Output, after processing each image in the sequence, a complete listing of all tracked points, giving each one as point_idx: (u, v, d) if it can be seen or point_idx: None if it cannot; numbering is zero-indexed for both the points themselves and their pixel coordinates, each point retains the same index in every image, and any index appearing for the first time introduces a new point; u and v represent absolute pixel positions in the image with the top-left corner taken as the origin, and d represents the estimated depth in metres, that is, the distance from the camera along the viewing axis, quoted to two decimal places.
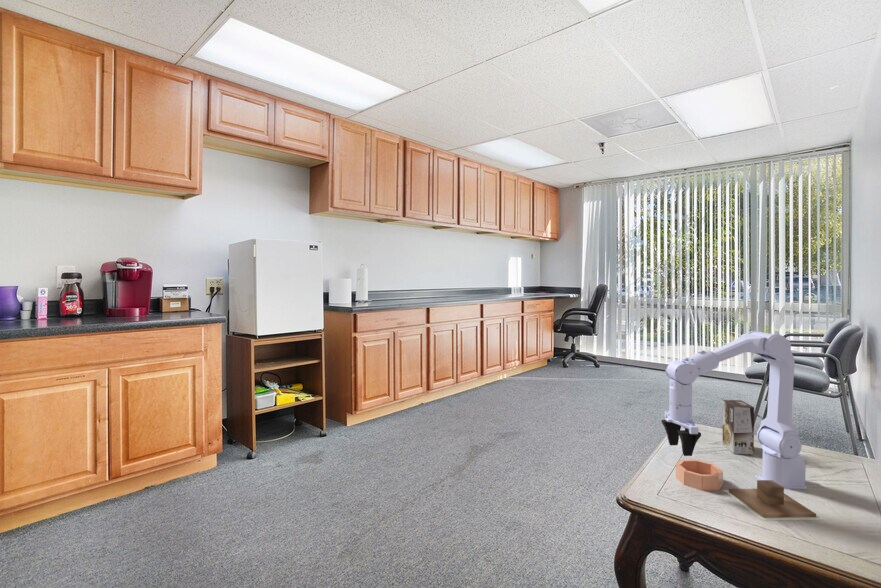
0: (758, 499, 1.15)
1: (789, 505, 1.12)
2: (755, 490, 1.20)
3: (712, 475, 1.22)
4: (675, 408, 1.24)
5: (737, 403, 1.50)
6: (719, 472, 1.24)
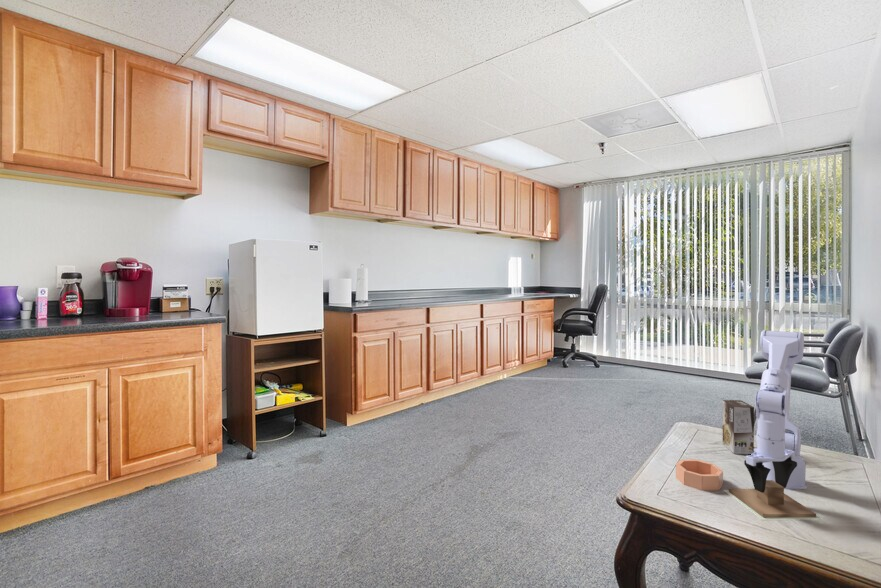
0: (758, 499, 1.15)
1: (789, 505, 1.12)
2: (755, 490, 1.20)
3: (712, 475, 1.22)
4: (757, 438, 1.16)
5: (737, 403, 1.50)
6: (719, 472, 1.24)
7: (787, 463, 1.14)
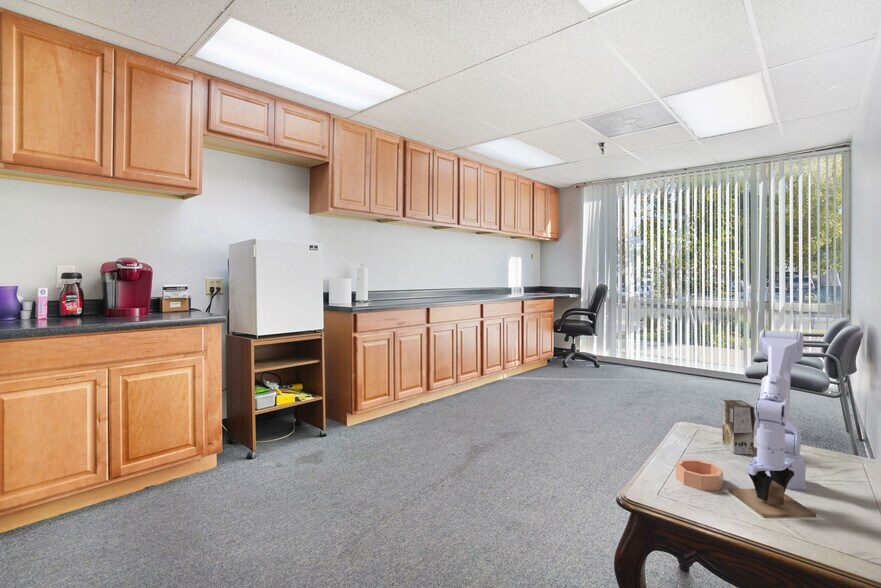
0: (758, 499, 1.15)
1: (789, 505, 1.12)
2: (755, 490, 1.20)
3: (712, 475, 1.22)
4: (757, 447, 1.16)
5: (737, 403, 1.50)
6: (719, 472, 1.24)
7: (784, 472, 1.13)
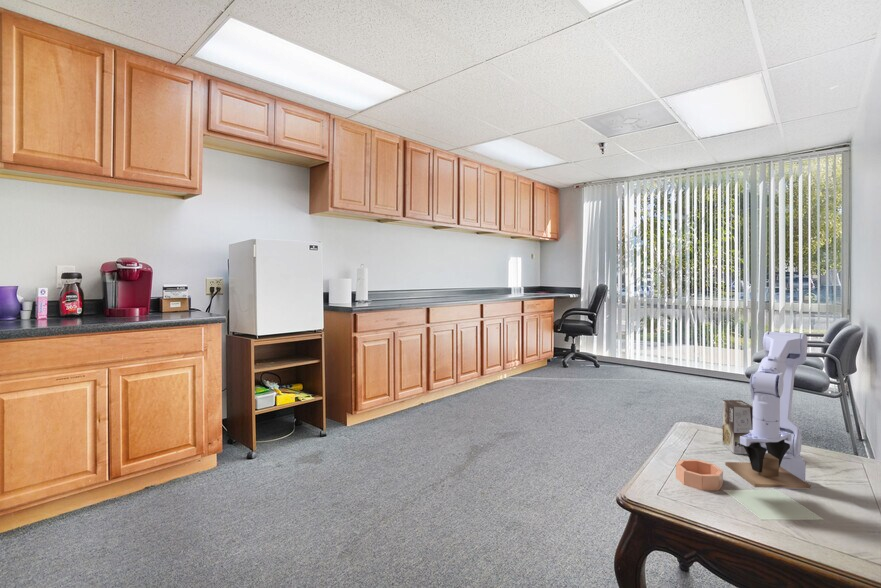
0: (753, 471, 1.16)
1: (784, 477, 1.12)
2: None
3: (712, 475, 1.22)
4: None
5: (737, 403, 1.50)
6: (719, 472, 1.24)
7: (779, 445, 1.14)
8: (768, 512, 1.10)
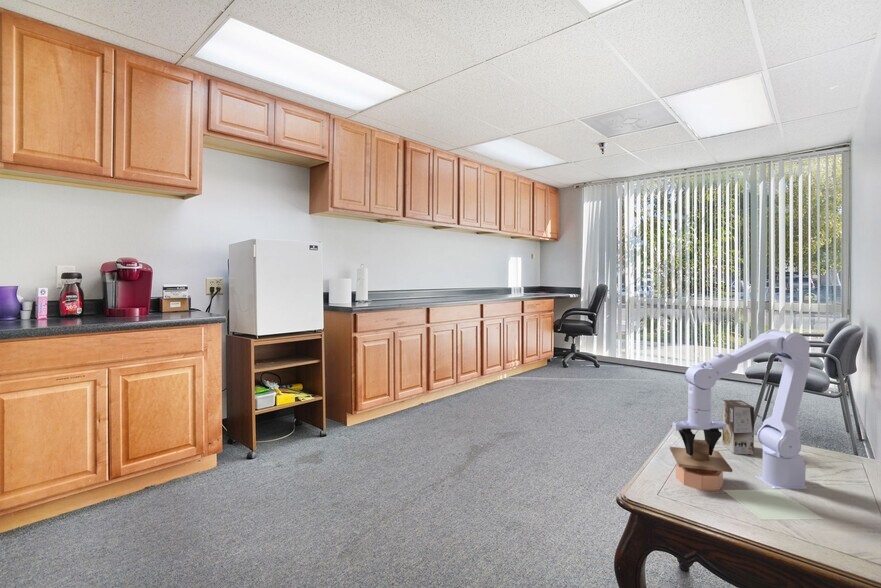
0: (688, 455, 1.29)
1: (713, 461, 1.24)
2: None
3: (712, 475, 1.22)
4: None
5: (737, 403, 1.50)
6: (719, 472, 1.24)
7: (711, 432, 1.25)
8: (768, 512, 1.10)
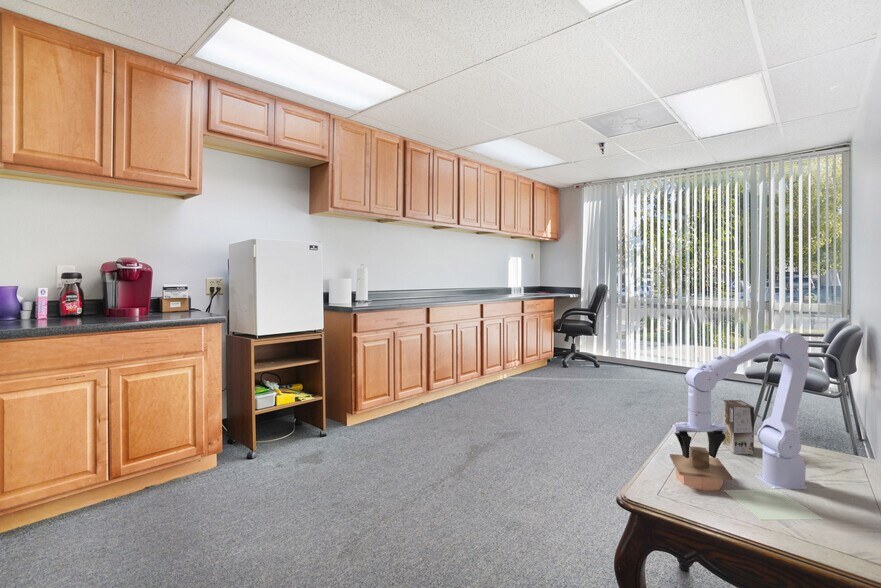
0: (688, 462, 1.29)
1: (713, 469, 1.24)
2: None
3: None
4: None
5: (737, 403, 1.50)
6: None
7: (715, 435, 1.25)
8: (768, 512, 1.10)
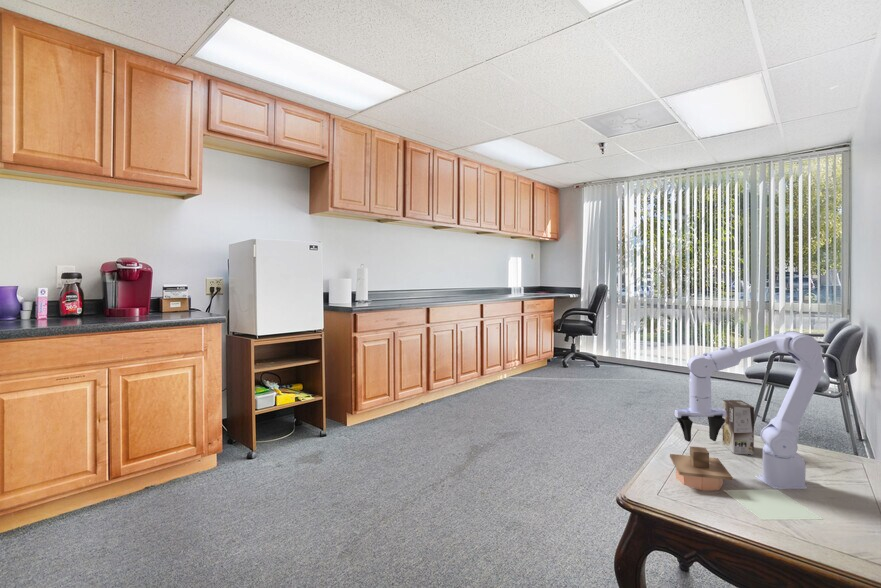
0: (688, 462, 1.29)
1: (713, 469, 1.24)
2: None
3: None
4: None
5: (737, 403, 1.50)
6: None
7: (715, 419, 1.31)
8: (768, 512, 1.10)
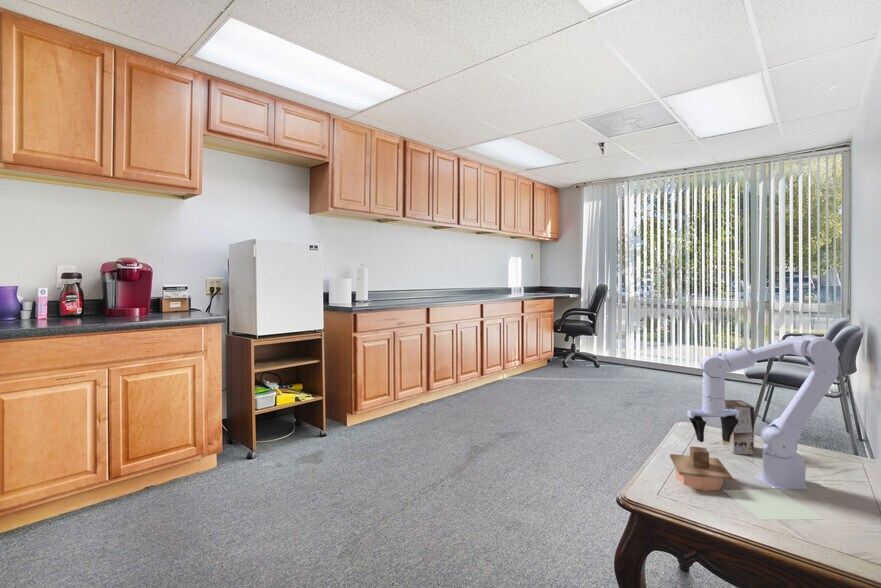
0: (688, 462, 1.29)
1: (713, 469, 1.24)
2: None
3: None
4: None
5: (737, 403, 1.50)
6: None
7: (728, 419, 1.30)
8: (768, 512, 1.10)
